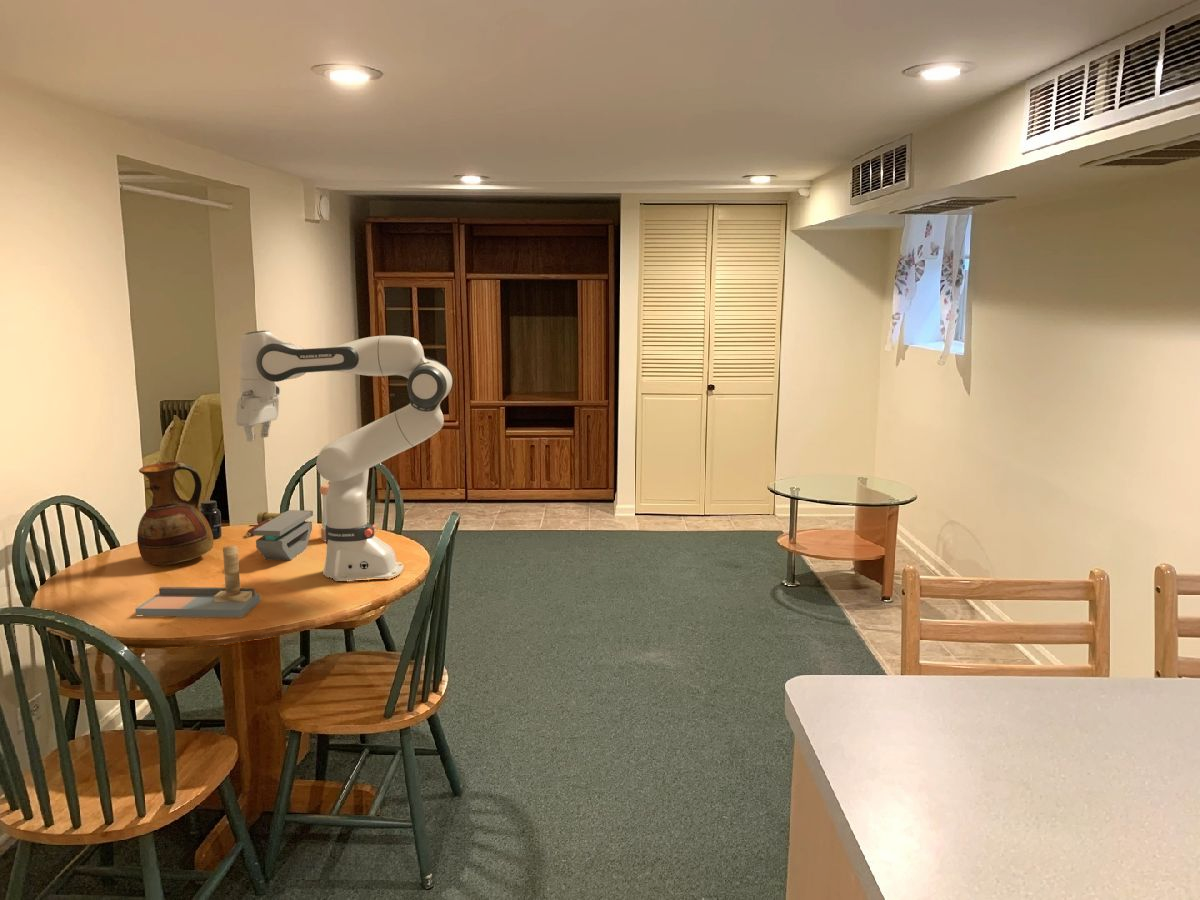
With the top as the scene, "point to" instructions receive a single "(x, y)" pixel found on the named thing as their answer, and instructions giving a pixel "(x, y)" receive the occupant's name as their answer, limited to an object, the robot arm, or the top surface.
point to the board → (195, 603)
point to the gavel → (262, 521)
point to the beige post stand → (232, 578)
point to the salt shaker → (324, 509)
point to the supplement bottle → (212, 517)
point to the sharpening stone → (284, 535)
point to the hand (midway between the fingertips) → (257, 439)
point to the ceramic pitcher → (172, 519)
